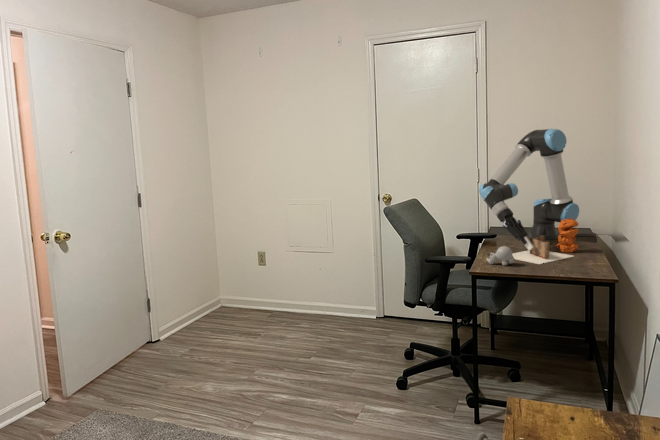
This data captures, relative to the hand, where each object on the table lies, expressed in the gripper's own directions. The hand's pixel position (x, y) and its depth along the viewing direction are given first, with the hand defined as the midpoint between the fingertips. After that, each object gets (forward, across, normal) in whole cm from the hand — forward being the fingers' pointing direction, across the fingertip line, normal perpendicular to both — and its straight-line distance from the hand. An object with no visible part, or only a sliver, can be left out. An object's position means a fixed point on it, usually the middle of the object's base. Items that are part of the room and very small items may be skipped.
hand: (531, 248), depth 248 cm
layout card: (+4, -3, -2) cm, 6 cm away
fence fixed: (0, -11, -5) cm, 12 cm away
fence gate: (+5, -2, 0) cm, 5 cm away
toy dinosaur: (+7, -24, +1) cm, 25 cm away
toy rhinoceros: (+2, +24, -4) cm, 24 cm away
